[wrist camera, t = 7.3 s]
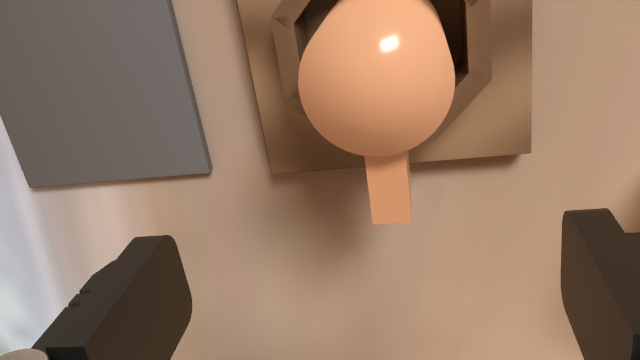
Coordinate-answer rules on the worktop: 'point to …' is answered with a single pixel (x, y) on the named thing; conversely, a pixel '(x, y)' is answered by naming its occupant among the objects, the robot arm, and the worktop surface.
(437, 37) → the peach ice lolly
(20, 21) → the charcoal mat
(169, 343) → the robot arm
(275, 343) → the worktop surface
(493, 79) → the walnut holder
